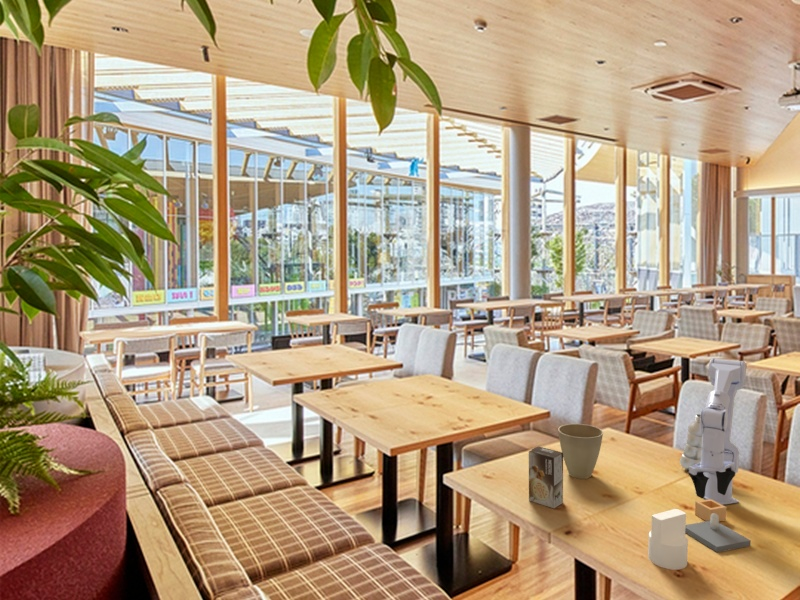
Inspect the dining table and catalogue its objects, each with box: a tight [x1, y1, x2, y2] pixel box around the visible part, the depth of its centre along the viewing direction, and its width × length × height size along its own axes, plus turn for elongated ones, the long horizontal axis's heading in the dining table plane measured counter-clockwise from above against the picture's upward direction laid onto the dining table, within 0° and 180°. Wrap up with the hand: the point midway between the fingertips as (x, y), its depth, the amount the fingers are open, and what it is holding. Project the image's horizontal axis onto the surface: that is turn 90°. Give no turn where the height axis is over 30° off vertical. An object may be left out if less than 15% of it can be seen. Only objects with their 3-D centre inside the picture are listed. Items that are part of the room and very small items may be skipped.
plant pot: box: [557, 423, 604, 480], centre depth 200 cm, size 15×15×16 cm
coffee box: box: [528, 446, 564, 509], centre depth 179 cm, size 9×6×16 cm
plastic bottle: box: [679, 413, 702, 471], centre depth 201 cm, size 6×7×20 cm
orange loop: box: [694, 499, 727, 523], centre depth 168 cm, size 6×6×4 cm
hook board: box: [685, 513, 752, 553], centre depth 156 cm, size 12×11×6 cm
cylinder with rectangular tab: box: [647, 508, 689, 571], centre depth 145 cm, size 9×9×12 cm
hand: (710, 495), depth 167 cm, fingers open, 7 cm apart
